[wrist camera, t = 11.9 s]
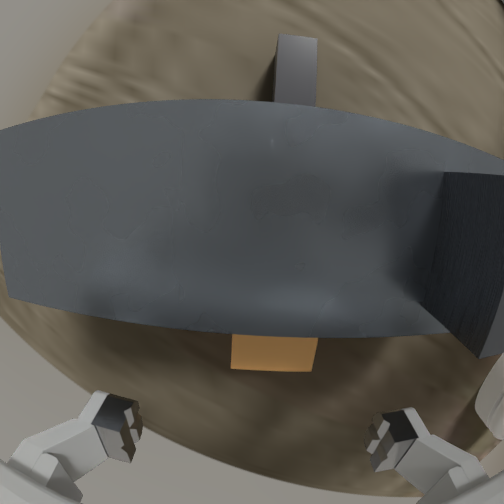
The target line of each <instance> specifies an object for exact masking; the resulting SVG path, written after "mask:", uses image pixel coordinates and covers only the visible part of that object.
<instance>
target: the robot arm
mask: <svg viewBox="0 0 504 504" xmlns="http://www.w3.org/2000/svg"><path fill="white" fill-rule="evenodd" d="M502 2H503V3H504V0H502ZM139 408H140V407H139V403H138V401H136V400H132V399H128V398H125V397H121V396H117V395H114V394H110V393H106V392H103V391H100V390H97V391H95V392H94V393H93V395H92V396H91V398H90V400H89V401H88V402H87V404H86V406H85V407H84V409H83V410H82V412H81V414H80V415H79V417H78V418H77V419H71V420H68V421H66V422H64V423H62V424H59V425H57V426H55V427H52V428H50V429H48V430H45V431H43V432H41V433H38V434H36V435H33V436H31V437H28V438H26V439H23V441H22V442H21V444H20V445H19V446H18V448H17V449H16V451H15V452H14V454H13V455H12V457H11V458H10V460H9V461H8V463H6V462H4V461H3V460H1V459H0V504H82V503H80V502H81V499H82V497H83V495H82V493H81V491H80V490H79V489H78V487H77V486H76V485H75V484H74V481H76V480H77V479H79V478H81V477H82V476H84V475H85V474H86V473H88V472H89V471H91V470H92V469H93V468H95V467H96V466H98V465H100V464H101V463H102V462H104V461H105V460H107V459H108V457H110V458H114V459H117V460H121V461H124V462H128V463H131V461H132V459H133V456H134V453H135V451H136V448H135V445H134V443H136V442H137V441H139V440H140V436H141V434H142V428H143V421H142V416H141V415H140V414H139V413H138V411H139ZM372 421H373V424H372V425H371V426H369V427H368V428H367V430H366V432H365V437H364V444H365V448H366V450H367V451H368V452H370V453H371V454H372V455H371V457H370V461H371V464H372V467H373V469H374V472H378V471H384V470H389V469H394V468H395V469H394V470H396V471H397V472H398V473H399V474H400V475H401V476H403V477H404V478H405V479H406V480H407V481H409V482H410V483H411V484H412V485H414V486H415V487H416V488H417V489H418V490H420V491H421V492H422V493H423V494H425V495H424V496H423V497H422V498H421V499H420V500H419V501H418V502H417V503H416V504H504V470H502V471H501V472H499V473H498V474H496V475H495V476H493V477H491V478H489V477H488V475H487V474H486V472H485V470H484V469H483V467H482V465H481V464H480V462H479V461H478V459H477V457H475V456H473V455H471V454H469V453H467V452H465V451H463V450H462V449H460V448H458V447H456V446H454V445H452V444H450V443H448V442H447V441H445V440H443V439H441V438H439V437H437V436H436V435H434V434H433V435H430V433H429V432H428V430H427V428H426V427H425V425H424V423H423V422H422V420H421V418H420V417H419V415H418V413H417V412H416V410H415V409H414V408H413V407H410V408H404V409H397V410H391V411H384V412H377V413H376V414H375V415H374V416H373V418H372Z"/></svg>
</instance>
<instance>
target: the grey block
mask: <svg viewBox="0 0 504 504" xmlns="http://www.w3.org/2000/svg"><path fill="white" fill-rule="evenodd" d="M0 247H1V255H2V262H3V269H4V275H5V280H6V285H7V290H8V295H9V297H11V298H14V299H18V300H22V301H26V302H30V303H34V304H38V305H42V306H46V307H51V308H55V309H60V310H65V311H69V312H74V313H79V314H84V315H89V316H95V317H100V318H106V319H112V320H118V321H124V322H130V323H137V324H144V325H151V326H159V327H166V328H175V329H183V330H193V331H203V332H213V333H225V334H238V335H254V336H273V337H301V338H367V337H394V336H412V335H426V334H439V333H449V332H451V333H452V334H453V335H454V336H455V337H456V338H457V339H458V340H459V341H460V342H461V343H462V344H464V345H465V346H466V347H467V348H468V349H469V350H470V351H471V352H472V353H473V354H474V355H475V356H476V357H477V358H478V359H481V358H485V357H489V356H493V355H498V354H501V353H504V160H502V159H500V158H498V157H495V156H493V155H491V154H488V153H486V152H484V151H481V150H479V149H476V148H474V147H471V146H468V145H466V144H463V143H460V142H458V141H455V140H452V139H449V138H446V137H443V136H440V135H437V134H434V133H431V132H427V131H424V130H421V129H417V128H414V127H410V126H406V125H403V124H399V123H395V122H391V121H387V120H383V119H378V118H374V117H369V116H365V115H360V114H355V113H349V112H344V111H338V110H332V109H326V108H319V107H312V106H304V105H296V104H287V103H276V102H264V101H248V100H219V99H196V100H166V101H151V102H139V103H129V104H120V105H112V106H104V107H98V108H91V109H85V110H79V111H74V112H69V113H64V114H59V115H55V116H50V117H46V118H42V119H38V120H34V121H30V122H26V123H23V124H19V125H16V126H12V127H9V128H6V129H3V130H0Z"/></svg>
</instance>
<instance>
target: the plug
mask: <svg viewBox="0 0 504 504" xmlns="http://www.w3.org/2000/svg"><path fill="white" fill-rule="evenodd" d="M316 76H317V39H316V38H310V37H303V36H295V35H287V34H279V35H278V41H277V47H276V52H275V63H274V78H273V93H272V102H276V103H287V104H296V105H304V106H312V107H315V102H316ZM317 342H318V338H301V337H273V336H254V335H238V334H232V353H231V369H245V370H262V371H294V372H311V370H312V366H313V361H314V357H315V352H316V347H317Z"/></svg>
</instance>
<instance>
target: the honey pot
mask: <svg viewBox="0 0 504 504" xmlns="http://www.w3.org/2000/svg"><path fill="white" fill-rule="evenodd" d="M475 410H476V413H477V414H478V415H479V417H480V418H481V419H482V421H483V422H484V423H485V425H486V426H487V427H488V428H489V429H490V431H491V432H492V433H493V436H494V437H496V438H497V439H500V440H504V353H503V354H502V355H501V356H500V358H499V359H498V360H497V362H496V363H495V364H494V366H493V367H492V369H491V371H490V372H489V374H488V375H487V377H486V378H485V380H484V382H483V384H482V386H481V388H480V390H479V392H478V395H477V398H476V401H475Z"/></svg>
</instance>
